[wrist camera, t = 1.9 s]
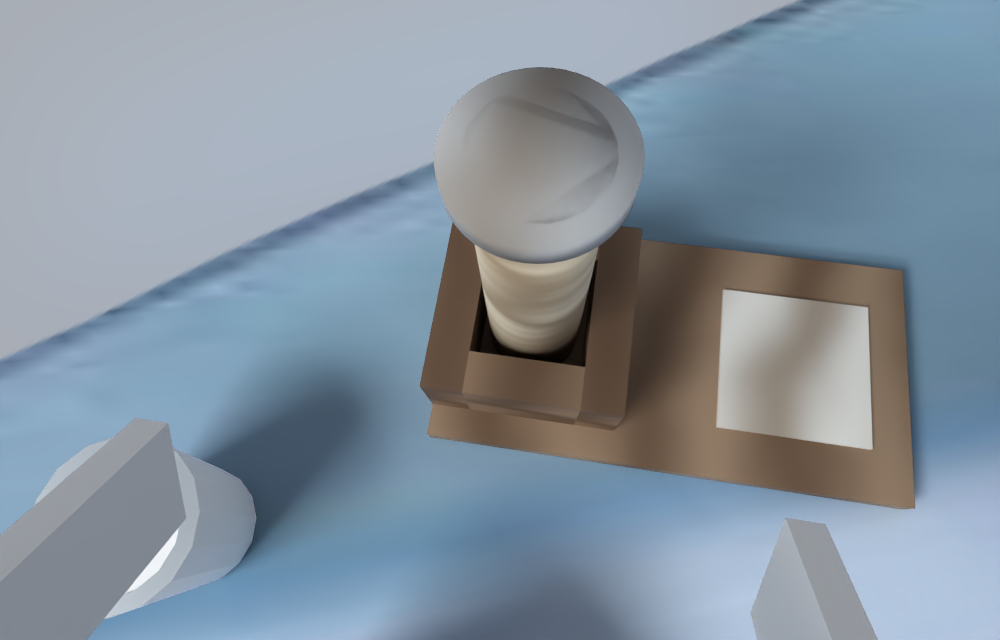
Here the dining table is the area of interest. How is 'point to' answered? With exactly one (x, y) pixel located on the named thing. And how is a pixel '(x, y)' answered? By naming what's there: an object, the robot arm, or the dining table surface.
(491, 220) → the capped plug
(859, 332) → the socket board
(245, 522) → the short white cylinder
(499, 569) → the dining table surface
